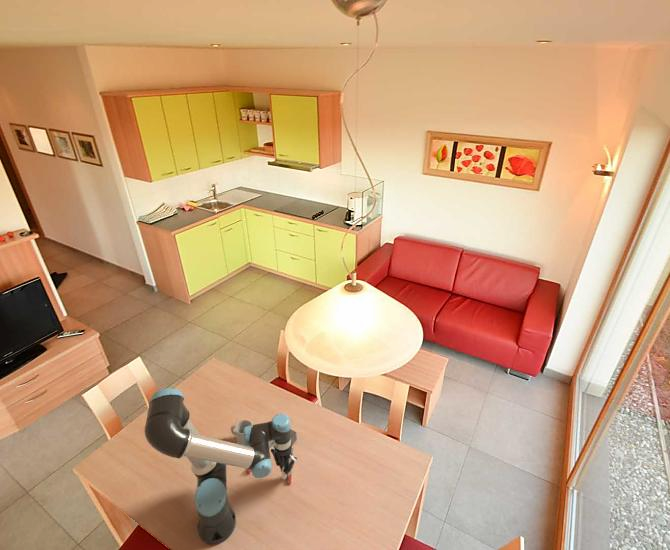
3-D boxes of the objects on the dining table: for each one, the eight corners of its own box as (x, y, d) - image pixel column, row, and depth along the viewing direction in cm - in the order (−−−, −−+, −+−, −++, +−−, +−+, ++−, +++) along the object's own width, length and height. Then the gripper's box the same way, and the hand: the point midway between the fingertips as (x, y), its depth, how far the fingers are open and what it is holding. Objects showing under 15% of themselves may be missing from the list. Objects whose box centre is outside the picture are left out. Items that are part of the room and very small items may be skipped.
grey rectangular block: (278, 430, 203) (277, 422, 201) (296, 439, 199) (296, 432, 196) (273, 435, 200) (272, 428, 198) (292, 445, 196) (291, 438, 193)
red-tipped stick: (290, 450, 193) (290, 448, 192) (293, 450, 193) (293, 447, 192) (287, 483, 178) (287, 480, 177) (291, 483, 178) (290, 480, 177)
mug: (257, 436, 200) (255, 422, 195) (249, 450, 193) (247, 435, 188) (236, 430, 203) (234, 416, 198) (228, 444, 196) (225, 429, 191)
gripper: (300, 443, 169) (301, 476, 181) (275, 430, 174) (278, 463, 186) (290, 456, 163) (292, 489, 175) (265, 443, 168) (269, 476, 180)
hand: (285, 476), depth 180 cm, fingers closed
